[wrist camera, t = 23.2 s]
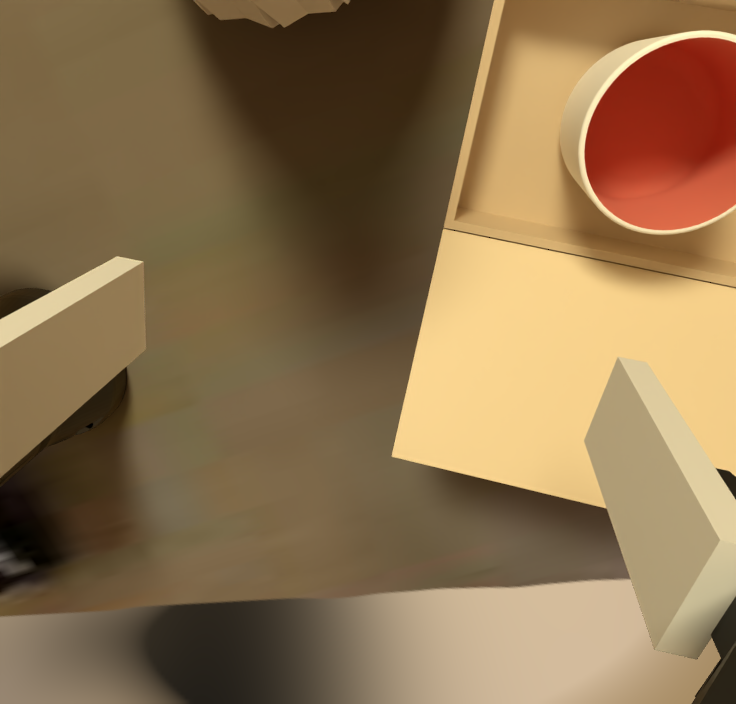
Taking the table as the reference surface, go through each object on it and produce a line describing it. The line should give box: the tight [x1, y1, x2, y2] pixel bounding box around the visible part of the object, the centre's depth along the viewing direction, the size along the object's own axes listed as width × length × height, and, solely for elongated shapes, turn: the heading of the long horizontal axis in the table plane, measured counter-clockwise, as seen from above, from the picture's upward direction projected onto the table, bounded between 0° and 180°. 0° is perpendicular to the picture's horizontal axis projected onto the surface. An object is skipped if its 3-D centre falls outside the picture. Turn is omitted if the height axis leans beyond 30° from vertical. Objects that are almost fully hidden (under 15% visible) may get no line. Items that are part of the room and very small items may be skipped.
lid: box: [392, 229, 736, 508], centre depth 38 cm, size 22×16×1 cm
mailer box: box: [444, 0, 736, 287], centre depth 37 cm, size 22×16×5 cm
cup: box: [560, 30, 736, 235], centre depth 34 cm, size 10×10×10 cm
